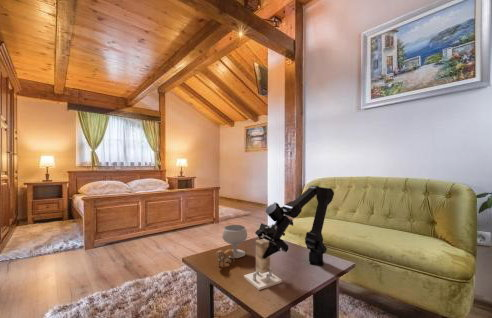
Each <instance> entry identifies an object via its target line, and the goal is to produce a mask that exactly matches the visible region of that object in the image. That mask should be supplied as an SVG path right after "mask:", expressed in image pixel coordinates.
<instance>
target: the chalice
mask: <svg viewBox="0 0 492 318" xmlns="http://www.w3.org/2000/svg"><path fill="white" fill-rule="evenodd" d="M221 235H222V239H223V242H225V243H227V244H229V245H231V246H232V249H231V250H232V251H233V256H234V257H235V259H239V258H243V257H245V256H246V252H245V251H244V250H242V249H237V248H238V246H239V245H240V244H242V243H244V242H245V241H246V240H247V238H248V231H247V229H246V227H245V226H244V225H241V224H230V225H226V226H224V228H223V230H222V234H221ZM229 259H232V258H231V257H230V256H229Z"/></svg>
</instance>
